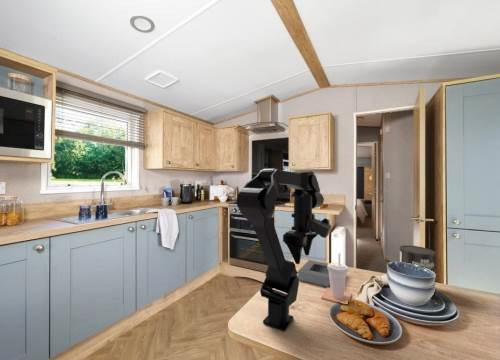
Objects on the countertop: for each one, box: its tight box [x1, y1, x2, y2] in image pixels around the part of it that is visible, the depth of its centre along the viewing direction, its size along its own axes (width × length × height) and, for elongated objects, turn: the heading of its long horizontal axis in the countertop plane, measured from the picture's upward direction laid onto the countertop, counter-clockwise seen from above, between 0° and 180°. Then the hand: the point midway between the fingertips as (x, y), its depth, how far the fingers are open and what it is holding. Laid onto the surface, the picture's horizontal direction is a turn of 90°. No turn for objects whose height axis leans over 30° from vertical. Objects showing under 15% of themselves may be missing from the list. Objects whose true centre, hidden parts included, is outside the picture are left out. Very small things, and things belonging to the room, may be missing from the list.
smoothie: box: [327, 252, 349, 299], centre depth 75 cm, size 6×6×14 cm
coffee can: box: [399, 245, 437, 274], centre depth 81 cm, size 10×10×14 cm
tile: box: [320, 287, 353, 304], centre depth 76 cm, size 8×8×1 cm
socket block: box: [297, 259, 330, 288], centre depth 90 cm, size 14×14×4 cm
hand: (302, 259), depth 73 cm, fingers open, 9 cm apart
